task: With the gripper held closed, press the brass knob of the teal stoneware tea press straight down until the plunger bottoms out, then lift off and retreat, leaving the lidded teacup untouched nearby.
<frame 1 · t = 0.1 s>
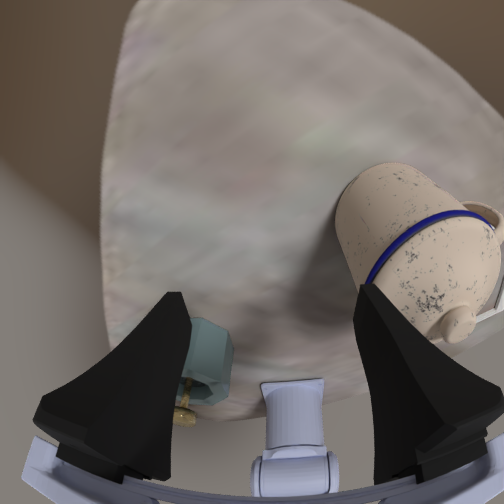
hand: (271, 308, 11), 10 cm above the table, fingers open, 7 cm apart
tea press body: (198, 341, 28), on the table
teacup with lid: (402, 208, 19), on the table
plunger: (185, 396, 23), point 7 cm above the table, slide at 0.0 cm
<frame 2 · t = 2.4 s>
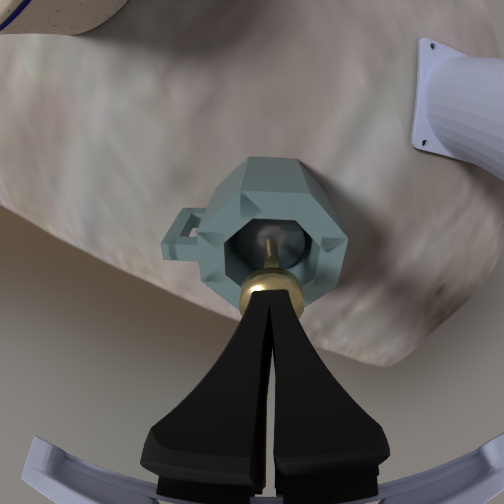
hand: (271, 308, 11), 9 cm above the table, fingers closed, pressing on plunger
tea press body: (270, 209, 19), on the table
plunger: (271, 267, 13), point 7 cm above the table, slide at 0.4 cm, touching gripper
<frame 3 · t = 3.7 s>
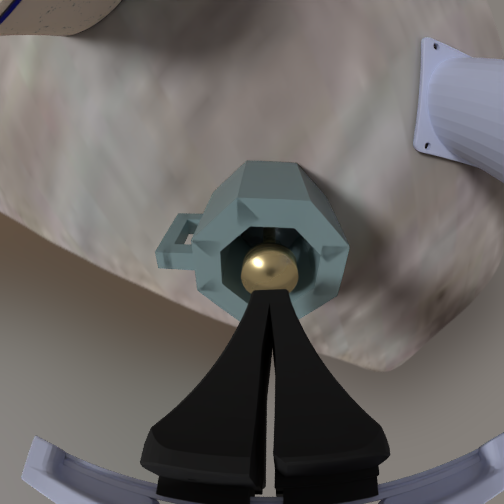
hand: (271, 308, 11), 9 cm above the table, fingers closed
tea press body: (269, 214, 18), on the table
plunger: (269, 246, 15), point 4 cm above the table, slide at 3.0 cm
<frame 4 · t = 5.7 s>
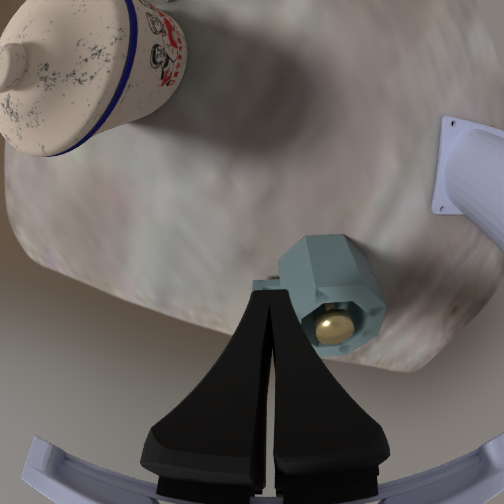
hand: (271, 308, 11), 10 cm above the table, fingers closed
tea press body: (322, 272, 23), on the table
teacup with lid: (124, 48, 14), on the table
plunger: (329, 304, 20), point 4 cm above the table, slide at 3.0 cm
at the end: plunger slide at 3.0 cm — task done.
